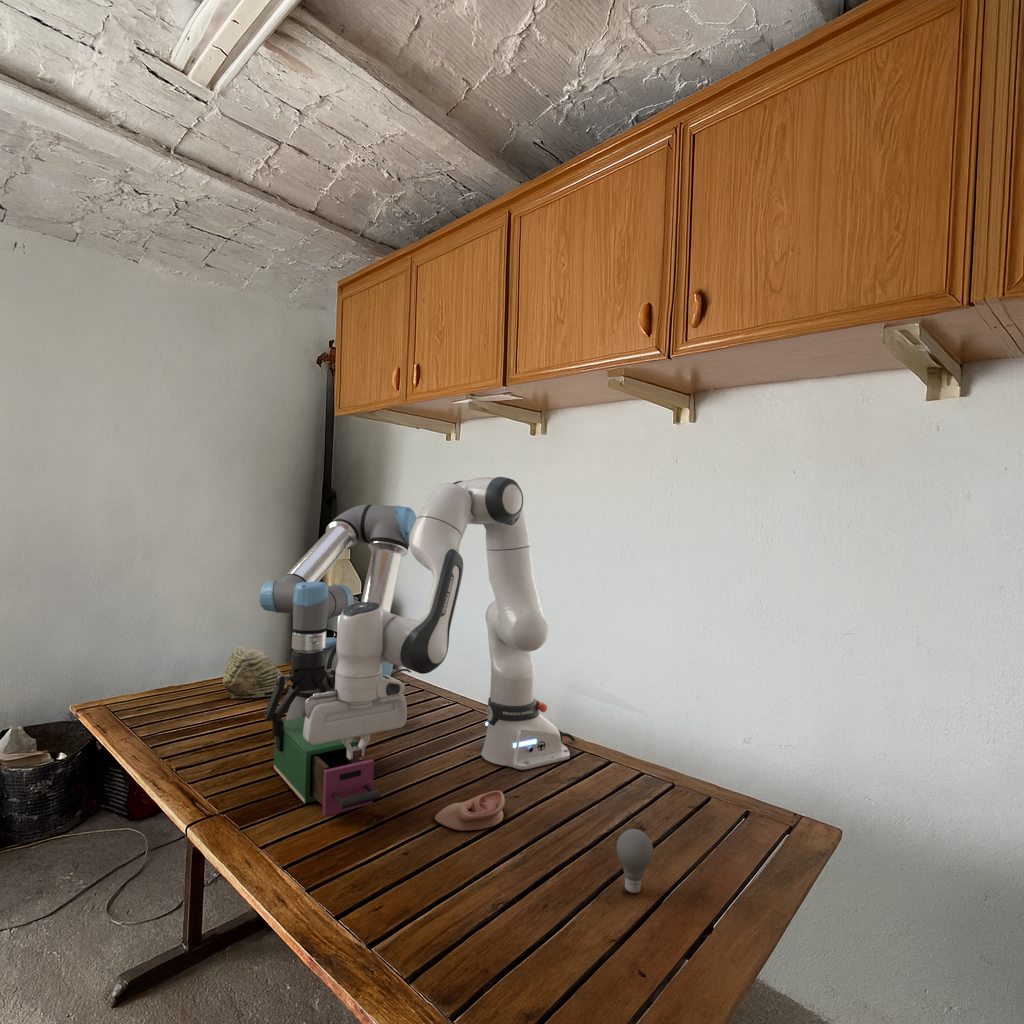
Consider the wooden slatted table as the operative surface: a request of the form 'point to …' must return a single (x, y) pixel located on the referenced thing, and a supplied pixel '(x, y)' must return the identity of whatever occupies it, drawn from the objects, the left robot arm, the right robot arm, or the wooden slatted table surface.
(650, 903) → the wooden slatted table surface
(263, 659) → the fossil
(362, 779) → the drawer
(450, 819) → the anatomical model
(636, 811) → the wooden slatted table surface
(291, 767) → the cabinet
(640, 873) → the light bulb
